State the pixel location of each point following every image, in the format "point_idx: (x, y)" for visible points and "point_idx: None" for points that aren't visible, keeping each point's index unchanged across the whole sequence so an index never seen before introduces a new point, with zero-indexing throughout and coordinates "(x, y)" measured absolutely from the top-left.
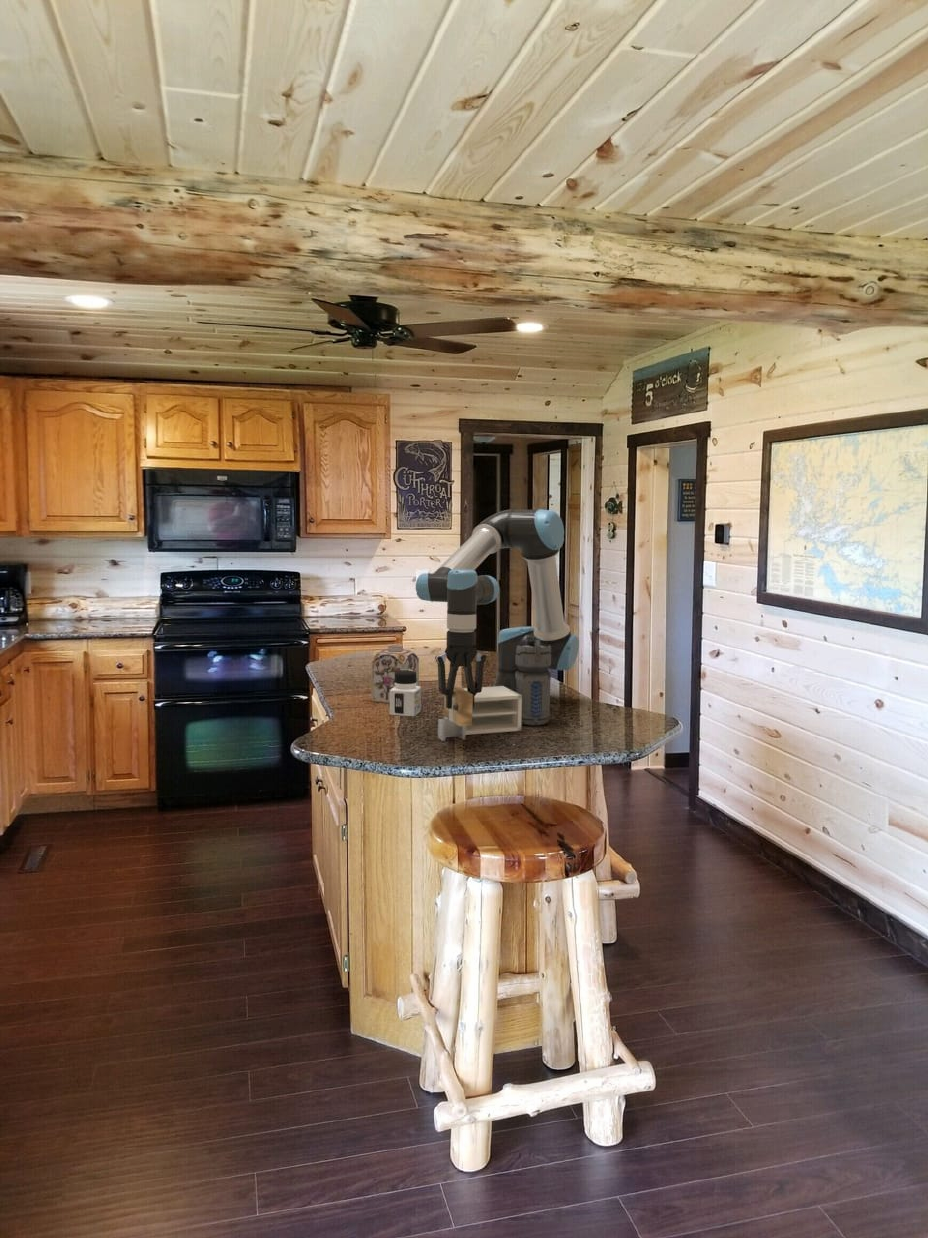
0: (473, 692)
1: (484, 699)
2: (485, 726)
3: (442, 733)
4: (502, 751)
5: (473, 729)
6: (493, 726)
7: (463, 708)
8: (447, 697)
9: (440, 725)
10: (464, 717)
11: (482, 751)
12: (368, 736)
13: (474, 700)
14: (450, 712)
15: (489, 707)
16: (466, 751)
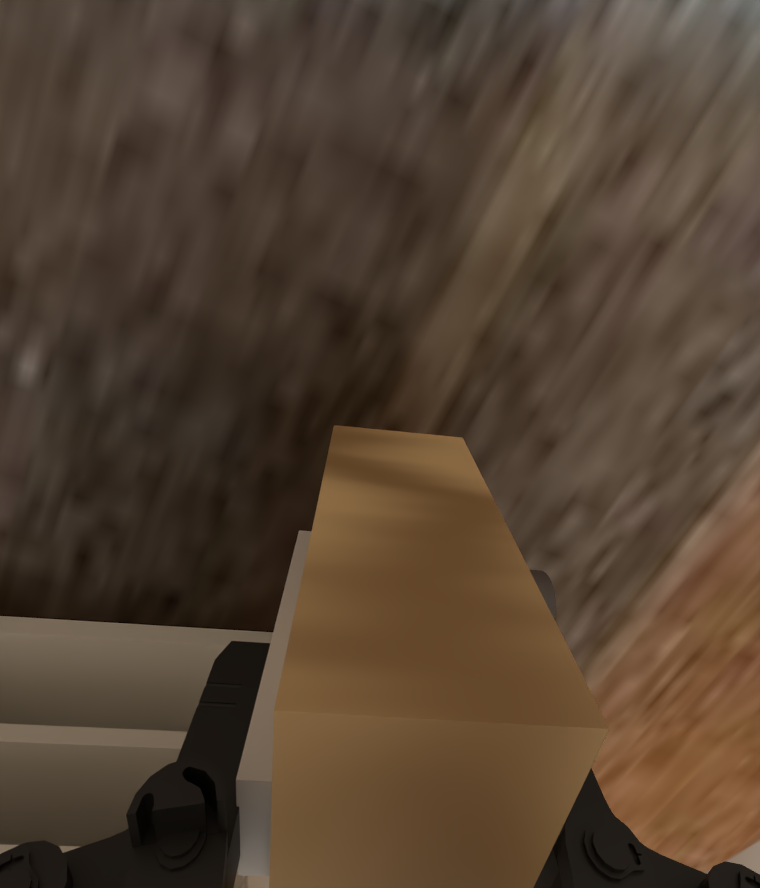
0: (166, 854)
1: None
2: (112, 690)
3: None
4: (162, 224)
5: (198, 662)
6: (66, 679)
7: (451, 526)
8: (604, 810)
9: None
10: (418, 468)
11: (301, 285)
12: (684, 729)
13: None
14: None
15: (11, 838)
16: (402, 328)
